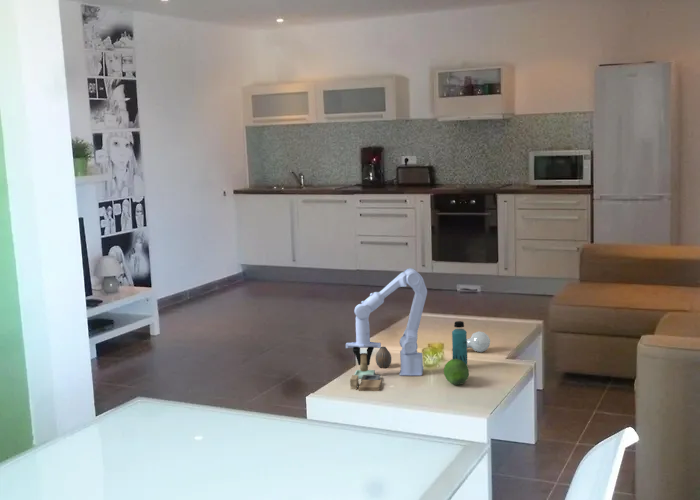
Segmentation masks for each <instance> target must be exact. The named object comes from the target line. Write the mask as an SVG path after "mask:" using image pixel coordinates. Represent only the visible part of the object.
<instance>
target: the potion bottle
mask: <svg viewBox="0 0 700 500" xmlns="http://www.w3.org/2000/svg"><path fill="white" fill-rule="evenodd" d="M490 344H491V339H490V337H489V335H488V334H487V333H486V332H484V331H475V332H473V333H472V334H471V337H470V338H468V337H467V349H472V350H473V351H475V352H476V351H477V353H483V352H485V351H487V350H488V349H489V347H490V346H491V345H490Z"/></svg>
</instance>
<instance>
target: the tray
mask: <svg viewBox="0 0 700 500" xmlns="http://www.w3.org/2000/svg"><path fill="white" fill-rule="evenodd" d="M353 375H358V380H361V379H362V377H363V375H376V370H375V369H368V371H360V369H356V370H355V372H354V374H353Z"/></svg>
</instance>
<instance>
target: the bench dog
mask: <svg viewBox="0 0 700 500" xmlns="http://www.w3.org/2000/svg"><path fill="white" fill-rule="evenodd" d="M349 383H350V390H357V389H358V388H359V385H360V381H359V379H358V375H354V374H353V375H351V377H350V380H349Z"/></svg>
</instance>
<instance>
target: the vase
mask: <svg viewBox="0 0 700 500" xmlns="http://www.w3.org/2000/svg"><path fill="white" fill-rule="evenodd" d="M375 363H376V365H377V366H378V367H379V368H381V369H386V368H389V367H390V365H391V364H392V354H391V352H390V351H389V350H388V349H387V347H386V346H381V348H378V351H377V352H376V355H375Z"/></svg>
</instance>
